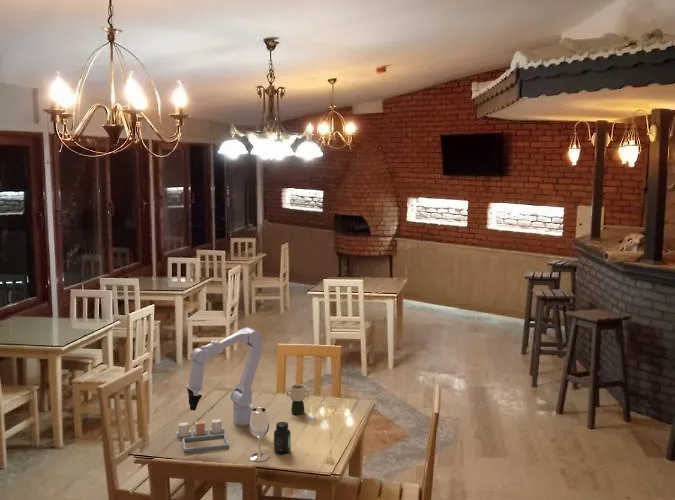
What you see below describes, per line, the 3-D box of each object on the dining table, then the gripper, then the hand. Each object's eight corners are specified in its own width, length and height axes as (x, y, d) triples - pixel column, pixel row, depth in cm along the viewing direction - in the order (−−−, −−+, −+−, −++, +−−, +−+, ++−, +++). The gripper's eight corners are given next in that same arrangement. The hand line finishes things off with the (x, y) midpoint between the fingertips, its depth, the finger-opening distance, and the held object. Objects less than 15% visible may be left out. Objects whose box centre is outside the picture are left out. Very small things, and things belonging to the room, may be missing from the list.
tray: (225, 439, 289) (225, 433, 289) (228, 450, 277) (228, 444, 277) (182, 443, 284) (182, 438, 284) (184, 455, 272) (184, 449, 272)
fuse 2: (220, 429, 296) (220, 419, 295) (221, 432, 293) (221, 421, 292) (211, 430, 295) (211, 419, 294) (212, 433, 292) (212, 422, 291)
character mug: (309, 410, 323) (309, 384, 322) (308, 415, 316) (308, 389, 315) (287, 409, 324) (287, 383, 322) (285, 415, 317) (285, 388, 315)
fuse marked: (204, 431, 294) (204, 420, 293) (205, 434, 291) (205, 423, 290) (195, 432, 293) (195, 421, 292) (195, 435, 290) (195, 424, 289)
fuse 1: (188, 433, 292) (188, 422, 291) (188, 436, 289) (188, 425, 288) (178, 434, 291) (178, 423, 290) (179, 437, 288) (179, 425, 287)
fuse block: (223, 431, 298) (223, 424, 297) (225, 436, 292) (225, 430, 292) (175, 436, 292) (175, 429, 291) (175, 441, 286) (175, 435, 286)
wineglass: (260, 463, 266) (260, 414, 263) (245, 458, 270) (245, 410, 267) (273, 456, 272) (272, 408, 270) (257, 451, 276) (257, 405, 274)
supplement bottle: (293, 452, 276) (293, 424, 274) (278, 456, 272) (278, 428, 270) (285, 446, 281) (285, 419, 280) (271, 450, 278) (270, 422, 276)
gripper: (186, 371, 295) (181, 402, 296) (188, 380, 281) (183, 412, 282) (202, 372, 297) (197, 403, 298) (205, 381, 283) (200, 413, 284)
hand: (192, 407), depth 290 cm, fingers open, 7 cm apart
